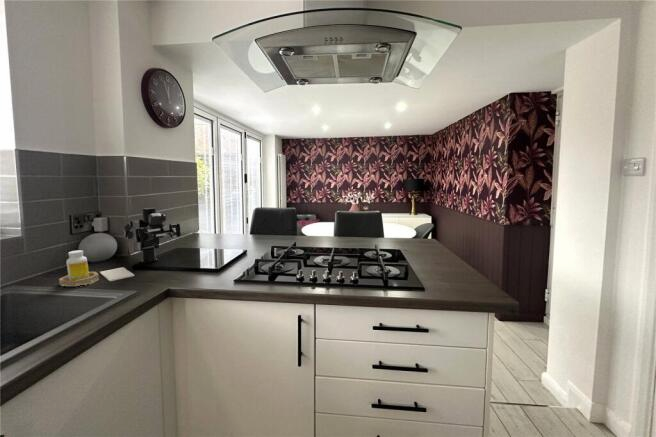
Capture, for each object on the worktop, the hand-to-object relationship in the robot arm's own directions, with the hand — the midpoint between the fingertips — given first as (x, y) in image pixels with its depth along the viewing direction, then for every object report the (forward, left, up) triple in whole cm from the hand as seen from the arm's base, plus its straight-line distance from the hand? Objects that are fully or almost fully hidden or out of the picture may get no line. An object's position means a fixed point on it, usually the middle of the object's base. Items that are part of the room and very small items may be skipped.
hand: (165, 235), depth 141 cm
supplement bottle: (-13, -29, -17) cm, 36 cm away
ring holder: (-13, -29, -17) cm, 36 cm away
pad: (-13, -16, -17) cm, 27 cm away
